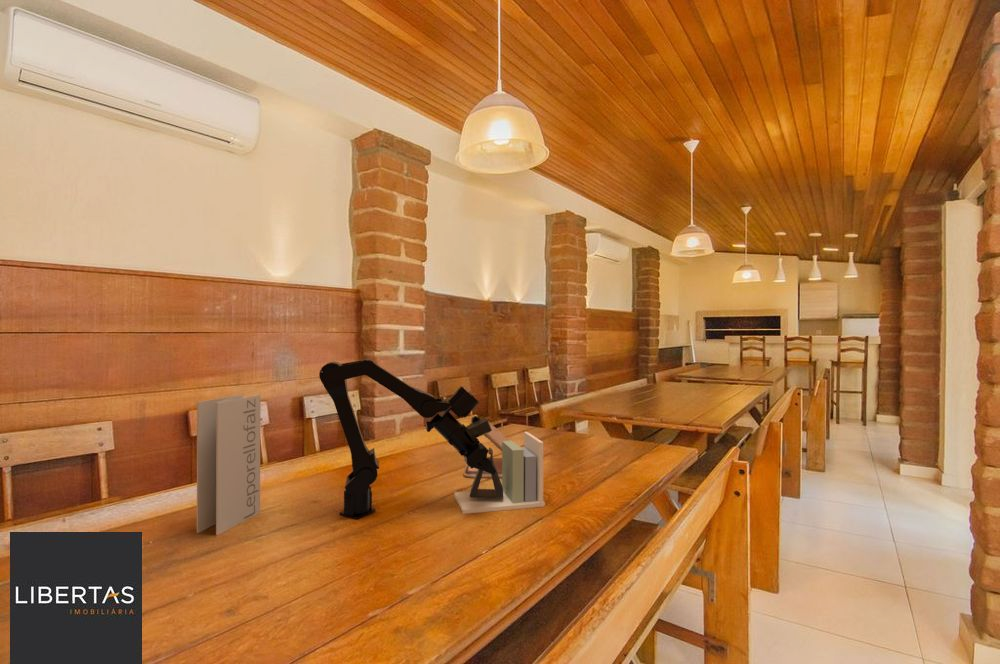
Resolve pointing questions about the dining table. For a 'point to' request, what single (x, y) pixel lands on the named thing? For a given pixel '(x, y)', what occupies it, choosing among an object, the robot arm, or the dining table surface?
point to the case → (496, 439)
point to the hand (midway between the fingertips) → (491, 469)
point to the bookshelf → (513, 480)
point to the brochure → (228, 461)
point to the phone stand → (487, 492)
